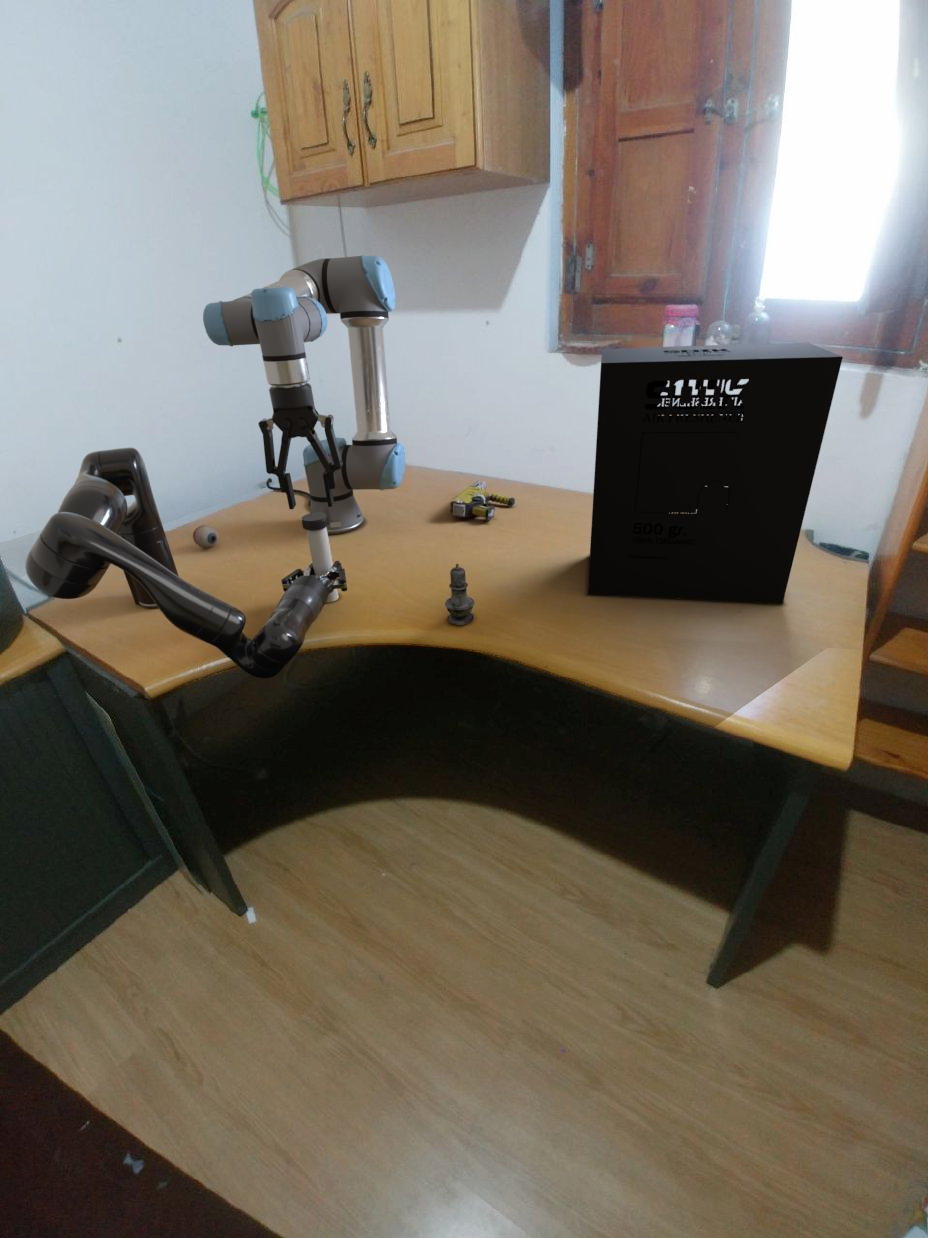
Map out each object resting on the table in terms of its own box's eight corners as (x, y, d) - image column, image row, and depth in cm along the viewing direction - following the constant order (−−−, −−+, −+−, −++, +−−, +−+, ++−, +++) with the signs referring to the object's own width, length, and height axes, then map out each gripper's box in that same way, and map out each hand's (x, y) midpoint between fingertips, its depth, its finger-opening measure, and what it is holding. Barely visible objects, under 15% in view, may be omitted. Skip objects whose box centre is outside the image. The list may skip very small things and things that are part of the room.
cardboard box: (760, 561, 136) (807, 342, 113) (782, 604, 118) (842, 356, 96) (590, 554, 143) (602, 348, 121) (587, 594, 126) (601, 362, 104)
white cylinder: (332, 592, 134) (317, 513, 124) (342, 597, 131) (328, 518, 122) (316, 598, 131) (300, 519, 122) (326, 604, 129) (311, 523, 119)
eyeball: (207, 553, 156) (200, 531, 153) (191, 549, 159) (185, 527, 156) (225, 545, 160) (220, 523, 157) (210, 541, 163) (204, 520, 160)
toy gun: (523, 485, 181) (476, 478, 185) (501, 509, 161) (448, 500, 165) (521, 500, 184) (475, 493, 187) (499, 525, 163) (447, 517, 167)
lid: (319, 519, 126) (318, 510, 125) (333, 525, 123) (331, 515, 122) (298, 526, 123) (296, 517, 122) (311, 532, 120) (309, 523, 119)
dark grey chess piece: (472, 626, 117) (469, 570, 111) (442, 624, 118) (438, 569, 112) (477, 611, 122) (475, 557, 116) (449, 610, 123) (445, 556, 117)
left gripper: (335, 585, 113) (357, 548, 128) (262, 585, 114) (292, 549, 129) (341, 619, 117) (362, 580, 131) (270, 619, 118) (299, 580, 133)
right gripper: (347, 377, 112) (363, 496, 124) (240, 384, 112) (267, 502, 124) (341, 384, 106) (359, 509, 117) (228, 391, 106) (257, 515, 117)
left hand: (327, 564), depth 130 cm, fingers closed on white cylinder, 4 cm apart
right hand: (312, 505), depth 121 cm, fingers open, 7 cm apart
